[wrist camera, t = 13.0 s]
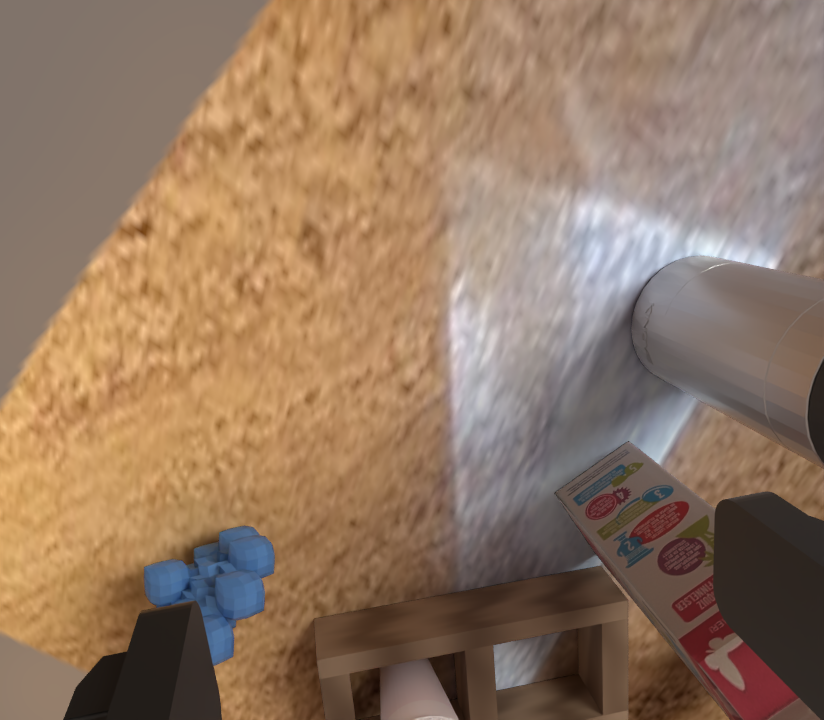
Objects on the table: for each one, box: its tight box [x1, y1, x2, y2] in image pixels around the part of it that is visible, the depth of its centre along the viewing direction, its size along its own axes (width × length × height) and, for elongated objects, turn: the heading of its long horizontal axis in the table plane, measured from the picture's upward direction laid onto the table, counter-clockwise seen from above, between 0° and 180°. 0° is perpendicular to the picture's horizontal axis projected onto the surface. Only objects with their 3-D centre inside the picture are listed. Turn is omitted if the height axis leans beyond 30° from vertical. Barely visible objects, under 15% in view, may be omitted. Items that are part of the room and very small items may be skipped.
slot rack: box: [314, 566, 628, 720], centre depth 51 cm, size 22×11×4 cm, turn 95°
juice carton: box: [555, 441, 820, 720], centre depth 42 cm, size 7×7×22 cm
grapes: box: [144, 526, 275, 666], centre depth 42 cm, size 12×7×12 cm, turn 136°
